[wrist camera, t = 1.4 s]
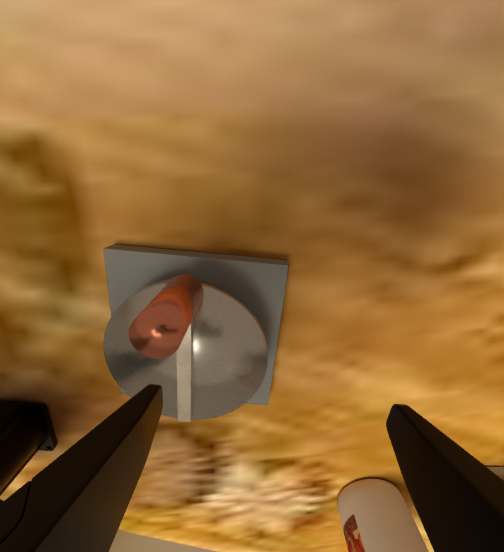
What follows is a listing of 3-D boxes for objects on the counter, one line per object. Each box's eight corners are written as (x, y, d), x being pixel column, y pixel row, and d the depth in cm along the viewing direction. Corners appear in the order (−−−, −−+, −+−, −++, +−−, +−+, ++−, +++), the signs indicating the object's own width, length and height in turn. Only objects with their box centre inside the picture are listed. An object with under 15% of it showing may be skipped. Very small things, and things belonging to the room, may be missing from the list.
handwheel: (258, 397, 23) (259, 503, 15) (129, 387, 23) (65, 488, 15) (275, 268, 19) (288, 325, 11) (115, 254, 18) (16, 302, 11)
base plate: (267, 392, 25) (268, 405, 23) (128, 381, 25) (120, 392, 23) (286, 259, 20) (288, 265, 19) (114, 244, 20) (103, 248, 18)
